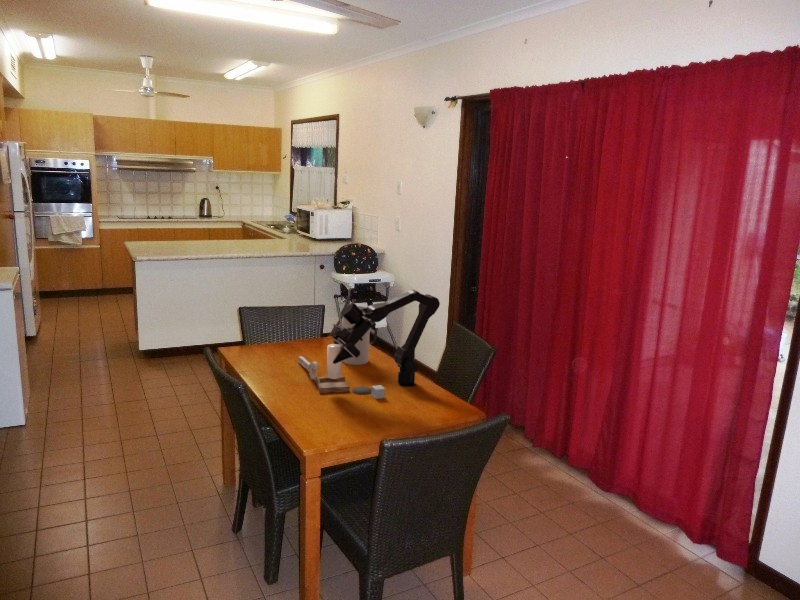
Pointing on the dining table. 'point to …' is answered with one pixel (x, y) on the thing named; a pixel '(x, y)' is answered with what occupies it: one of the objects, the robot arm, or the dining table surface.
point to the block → (378, 392)
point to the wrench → (309, 366)
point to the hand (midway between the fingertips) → (331, 360)
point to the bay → (332, 385)
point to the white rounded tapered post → (332, 368)
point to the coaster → (362, 390)
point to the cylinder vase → (359, 345)
